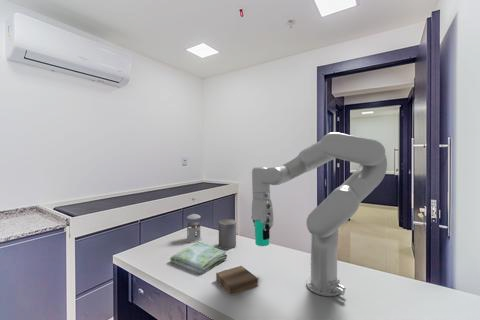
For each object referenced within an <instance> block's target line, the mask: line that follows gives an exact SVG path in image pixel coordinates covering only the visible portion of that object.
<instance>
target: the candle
mask: <svg viewBox="0 0 480 320" xmlns="http://www.w3.org/2000/svg"><path fill="white" fill-rule="evenodd" d="M266 222H268V221H266ZM265 225H266V226H267V224H265ZM263 230H264V229H263V223H261V221H256V220H255V227H254V236H255V237H254V238H255V245H256V246H258V247H267V246H269V245H270V238H269V239H266V240H263Z"/></svg>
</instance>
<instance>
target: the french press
mask: <svg viewBox="0 0 480 320" xmlns="http://www.w3.org/2000/svg"><path fill="white" fill-rule="evenodd" d="M195 200H196V198H195V197H193V198H192V200H191V201H195ZM186 218H187V220H193V221H192V222H191V221H190V222H188V223H187V226H186V235H187V236H186V239H185V240H186V241H185V242H186V243H188V242H190V243H189V244H195V242H197V243H198V242H199V241H200V242H201V240H203V239H202V237H201V225H200V224H201V222H200V219H201V218H202V216H201V215H199V214H197V213H192V214H189V215H187V216H186ZM197 220H198V222H197Z"/></svg>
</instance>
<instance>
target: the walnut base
mask: <svg viewBox="0 0 480 320" xmlns="http://www.w3.org/2000/svg"><path fill="white" fill-rule="evenodd" d="M215 278H216V279H215V281H216V282H218V284H219V285H220V286H221V287H222V288H223V289H224V290H225V291H226V292H227V294H229V295H230V296H233V295H236V294H239V293H241V292H244V291H247V290H250V289H252V288H255V287H258V286H259V278H258V277H257V276H256V275H255V274H253V273H252V272H250V271H249V270H248V269H246V268H245V267H244V266H242V265H239V266H236V267H233V268H229V269H225V270H222V271H219V272H216V274H215Z"/></svg>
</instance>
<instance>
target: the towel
mask: <svg viewBox="0 0 480 320" xmlns="http://www.w3.org/2000/svg"><path fill="white" fill-rule="evenodd" d="M227 257H228V255H227V253H226V251H225V250H224V249H221V248H220V249H219V248H216V247H215V246H212V245H209V244H207V243H204V242H201V241H200V242H197V243H192V245H190V246H188V247H187V248H184V249H181V250H180V251H178V252H176V253H174V254H173V255H172V256H170V258H169V260H170V262H171V263H172V264H176V265H177V266H180V267H182V268H185V269H187V270H189V271H192V272H195V273H197V274H200V275H202V274H204V273H206V272H208V271H209V270H210V269H213V268H214V267H216V266H217V265H218V264H220V263H222V262H224V261H226V260H227Z"/></svg>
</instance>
